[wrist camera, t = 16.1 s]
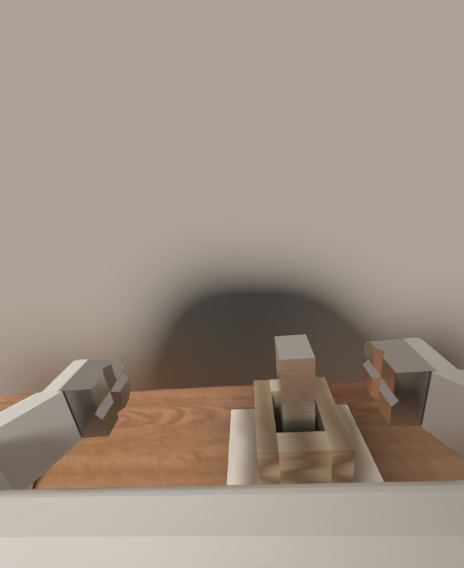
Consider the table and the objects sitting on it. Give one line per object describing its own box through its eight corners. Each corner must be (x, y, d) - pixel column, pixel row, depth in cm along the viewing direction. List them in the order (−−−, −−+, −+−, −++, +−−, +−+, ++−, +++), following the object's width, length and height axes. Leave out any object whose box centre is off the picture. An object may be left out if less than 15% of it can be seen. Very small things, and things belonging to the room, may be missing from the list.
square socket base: (225, 522, 31) (216, 471, 28) (232, 414, 46) (226, 373, 43) (398, 521, 30) (408, 466, 27) (346, 409, 45) (349, 366, 42)
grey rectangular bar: (284, 459, 35) (279, 359, 29) (280, 427, 39) (274, 336, 34) (315, 458, 34) (315, 357, 29) (306, 426, 39) (305, 334, 34)
